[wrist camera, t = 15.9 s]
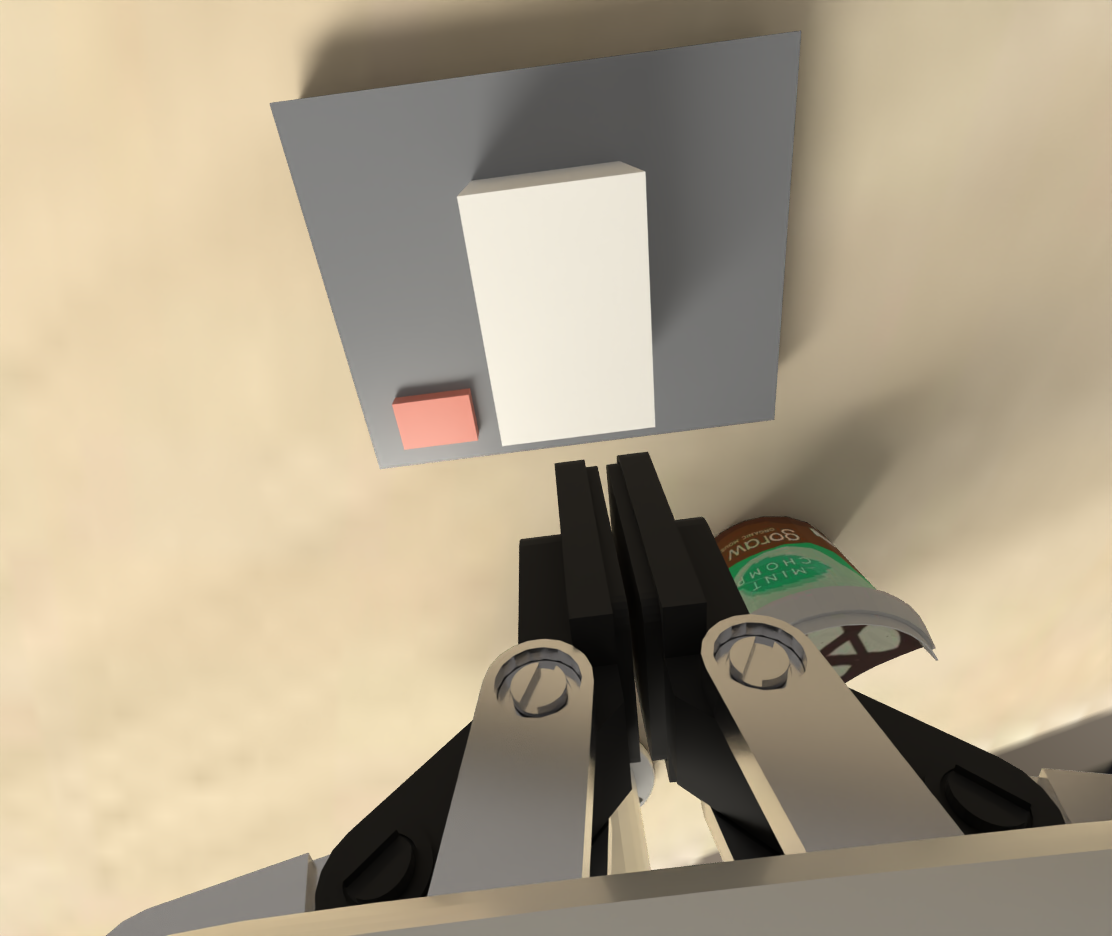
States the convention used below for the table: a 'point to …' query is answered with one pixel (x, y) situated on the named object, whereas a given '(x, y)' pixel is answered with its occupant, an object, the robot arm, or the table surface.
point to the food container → (819, 594)
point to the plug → (563, 299)
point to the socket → (540, 145)
